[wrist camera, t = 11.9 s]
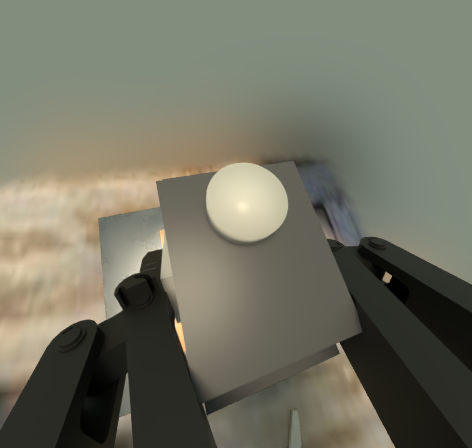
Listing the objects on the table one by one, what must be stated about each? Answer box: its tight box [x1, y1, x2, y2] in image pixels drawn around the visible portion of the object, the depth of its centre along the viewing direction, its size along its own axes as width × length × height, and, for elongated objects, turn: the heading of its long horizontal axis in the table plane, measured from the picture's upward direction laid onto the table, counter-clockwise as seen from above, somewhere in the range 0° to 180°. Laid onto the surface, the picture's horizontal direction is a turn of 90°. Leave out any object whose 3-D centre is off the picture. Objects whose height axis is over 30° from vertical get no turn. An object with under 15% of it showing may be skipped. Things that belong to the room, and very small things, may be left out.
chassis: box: [98, 207, 188, 417], centre depth 17 cm, size 20×16×2 cm
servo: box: [156, 161, 362, 415], centre depth 10 cm, size 5×8×12 cm, turn 16°
